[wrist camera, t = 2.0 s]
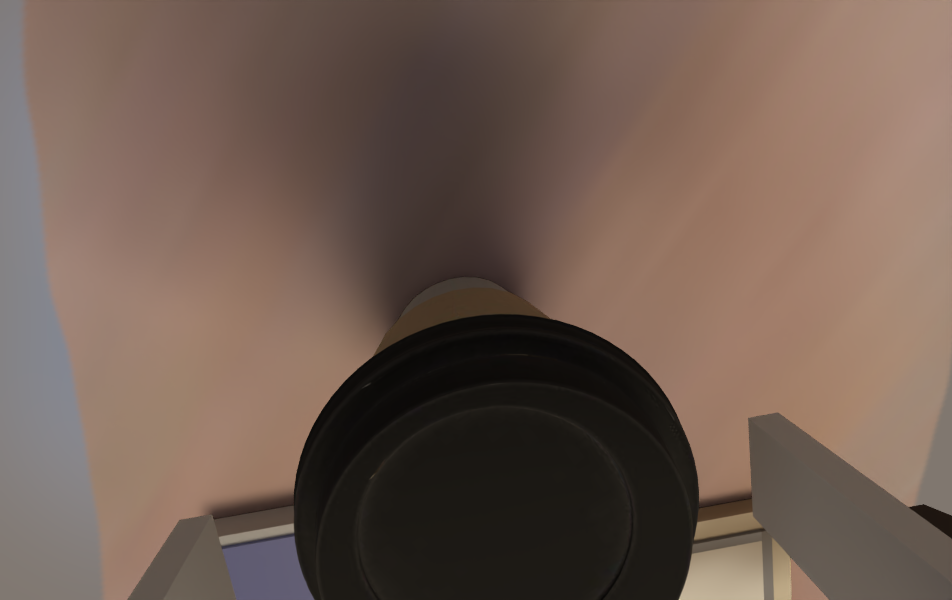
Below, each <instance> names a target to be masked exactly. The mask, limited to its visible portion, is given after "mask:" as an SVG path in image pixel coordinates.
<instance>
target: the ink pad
mask: <svg viewBox="0 0 952 600" xmlns="http://www.w3.org/2000/svg"><path fill="white" fill-rule="evenodd" d="M214 522H215V526H216V529H217V533H218V536H219V540H220V544H221V547H222V551H223V554H224V558H225V561H226V565H227V568H228V572H229V575H230V579H231V582H232V586H233V590H234V593H235V597H236V600H314V598H313V596H312V594H311V593H310V591H309V589H308V586H307V584H306V581H305V579H304V577H303V574H302V571H301V567H300V564H299V560H298V556H297V551H296V545H295V537H294V505H293V506H287V507H281V508H276V509H270V510H264V511H259V512H253V513H248V514H242V515H236V516H231V517H225V518H219V519H214Z"/></svg>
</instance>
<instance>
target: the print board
mask: <svg viewBox="0 0 952 600" xmlns="http://www.w3.org/2000/svg"><path fill="white" fill-rule="evenodd" d="M679 600H791V557H790V556H789V555H788V554H787V553H786V552H785V551H784V550H783V548H782V547H781V546H780V545H779V544H778V543H777V542H776V541H775V540H774V539H773V538H772V536H771V535H770V534H769V533H768V532H767V531H766V530H765V529H764V528H763V527H762V525H761V524H760V523H759V522H758V521H757V520H756V519H755V518H754V517H753V507H752V499H747V500H742V501H737V502H731V503H726V504H720V505H715V506H709V507H704V508H699V511H698V520H697V527H696V532H695V537H694V541H693V546H692V556H691V562H690V567H689V572H688V575H687V579H686V582H685V585H684V588H683V591H682V593H681V595H680V598H679Z"/></svg>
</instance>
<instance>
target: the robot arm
mask: <svg viewBox="0 0 952 600" xmlns="http://www.w3.org/2000/svg"><path fill="white" fill-rule="evenodd" d="M748 423H749V444H750V465H751V486H752V507H753V517H754V518H755V519H756V520H757V521H758V522H759V523H760V524H761V525H762V527H763V528H764V529H765V530H766V531H767V532H768V533H769V534H770V535H771V536H772V538H773V539H774V540H775V541H776V542H777V543H778V544H779V545H780V546H781V547H782V548H783V550H784V551H785V552H786V553H787V554H788V555H789V556H790V557H791V558H792V559H793V560H794V562H795V563H796V564H797V565H798V566H799V567H800V568H801V569H802V570H803V571H804V573H805V574H806V575H807V576H808V577H809V578H810V579H811V580H812V581H813V582H814V583H815V585H816V586H817V587H818V588H819V589H820V590H821V591H822V592H823V593H824V594H825V595H826V597H827V598H828V599H829V600H952V516H951V515H949V514H946V513H944V512H941V511H939V510H936V509H934V508H931V507H929V506H927V505H924V504H923V505H918V506H913V507H907V506H906V505H905V504H903V503H902V502H900V501H899V500H898V499H896V498H895V497H894V496H892V495H891V494H889V493H888V492H887V491H885V490H884V489H883V488H881V487H880V486H878V485H877V484H876V483H874V482H873V481H872V480H870V479H869V478H867V477H866V476H865V475H863V474H862V473H861V472H859V471H858V470H856V469H855V468H854V467H852V466H851V465H850V464H848V463H847V462H845V461H844V460H843V459H841V458H840V457H839V456H837V455H836V454H834V453H833V452H832V451H830V450H829V449H828V448H826V447H825V446H823V445H822V444H821V443H819V442H818V441H817V440H815V439H814V438H812V437H811V436H810V435H808V434H807V433H806V432H804V431H803V430H801V429H800V428H799V427H797V426H796V425H795V424H793V423H792V422H790V421H789V420H788V419H786V418H785V417H784V416H782V415H781V414H779V413H773V414H767V415H762V416H756V417H751V418H748ZM128 600H236V597H235V593H234V590H233V586H232V582H231V579H230V575H229V572H228V568H227V565H226V561H225V558H224V554H223V551H222V547H221V544H220V540H219V536H218V533H217V529H216V526H215V522H214V519H213V515H212V514H211V515H205V516H199V517H194V518H188V519H183V520H179V522H178V523H177V525H176V526H175V528H174V529H173V531H172V532H171V534H170V535H169V537H168V538H167V540H166V541H165V543H164V545H163V546H162V548H161V549H160V551H159V552H158V554H157V555H156V557H155V558H154V560H153V561H152V563H151V564H150V566H149V567H148V569H147V570H146V572H145V574H144V575H143V577H142V578H141V580H140V581H139V583H138V584H137V586H136V587H135V589H134V590H133V592H132V593H131V595H130V596H129V598H128Z"/></svg>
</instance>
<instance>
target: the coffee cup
mask: <svg viewBox="0 0 952 600" xmlns="http://www.w3.org/2000/svg"><path fill="white" fill-rule="evenodd" d="M698 511H699V487H698V476H697V471H696V466H695V461H694V457H693V454H692V451H691V447H690V444H689V442H688V440H687V437H686V435H685V432H684V430H683V428H682V426H681V424H680V421H679V419H678V417H677V414H676V412H675V410H674V409H673V407H672V405H671V403H670V401H669V399H668V398H667V396H666V395H665V394H664V392H663V391H662V389H661V388H660V386H659V385H658V384H657V383H656V382H655V380H654V379H653V378H652V377H651V376H650V374H649V373H648V372H647V371H646V370H645V369H644V368H643V367H642V366H641V365H640V364H639V363H637V362H636V361H635V360H634V359H633V358H631V357H630V356H629V355H628V354H626V353H625V352H624V351H623V350H621V349H620V348H618V347H616V346H615V345H613V344H612V343H610V342H609V341H607V340H605V339H603V338H601V337H599V336H597V335H595V334H594V333H592V332H589V331H587V330H584V329H582V328H579V327H577V326H574V325H571V324H567V323H564V322H561V321H557V320H553V319H550V318H549V317H547V316H546V315H545V314H543V313H542V312H541V311H539V310H538V309H537V308H535V307H534V306H533V305H531V304H530V303H529V302H527V301H526V300H524V299H522V298H520V297H518V296H516V295H514V294H512V293H510V292H508V291H506V290H505V289H504V288H502V287H501V286H499V285H497V284H495V283H493V282H491V281H489V280H485V279H481V278H478V277H459V278H453V279H448V280H445V281H443V282H440V283H437V284H435V285H433V286H431V287H429V288H427V289H425V290H424V291H423V292H421V293H420V294H419V295H417V296H416V297H415V298H414V299H413V300H412V301H411V302H410V303H409V304H408V306H407V307H406V308H405V309H404V311H403V313H402V314H401V316H400V318H399V319H398V321H397V322H396V323H395V324H394V325H393V326H392V327H391V329H390V330H389V331H388V332H387V333H386V335H385V336H384V338H383V340H382V342H381V343H380V345H379V347H378V349H377V351H376V352H375V354H374V356H373V357H372V358H371V359H369V360H368V361H367V362H366V363H364V364H363V365H362V366H361V367H359V368H358V369H357V370H356V371H355V372H354V373H353V374H352V375H351V376H350V377H349V378H348V379H347V380H346V381H345V382H344V383H343V384H342V385H341V386H340V388H339V389H338V390H337V391H336V392H335V393H334V394H333V396H332V397H331V398H330V400H329V401H328V403H327V404H326V405H325V407H324V408H323V410H322V411H321V413H320V415H319V416H318V418H317V420H316V421H315V423H314V425H313V427H312V429H311V431H310V433H309V436H308V438H307V440H306V443H305V445H304V448H303V451H302V454H301V457H300V461H299V465H298V469H297V474H296V481H295V488H294V537H295V545H296V551H297V556H298V560H299V564H300V567H301V571H302V574H303V577H304V579H305V581H306V584H307V586H308V589H309V591H310V593H311V594H312V596H313V598H314V600H679V598H680V595H681V593H682V591H683V588H684V585H685V582H686V579H687V575H688V572H689V567H690V562H691V556H692V546H693V541H694V537H695V532H696V527H697V520H698Z"/></svg>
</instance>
